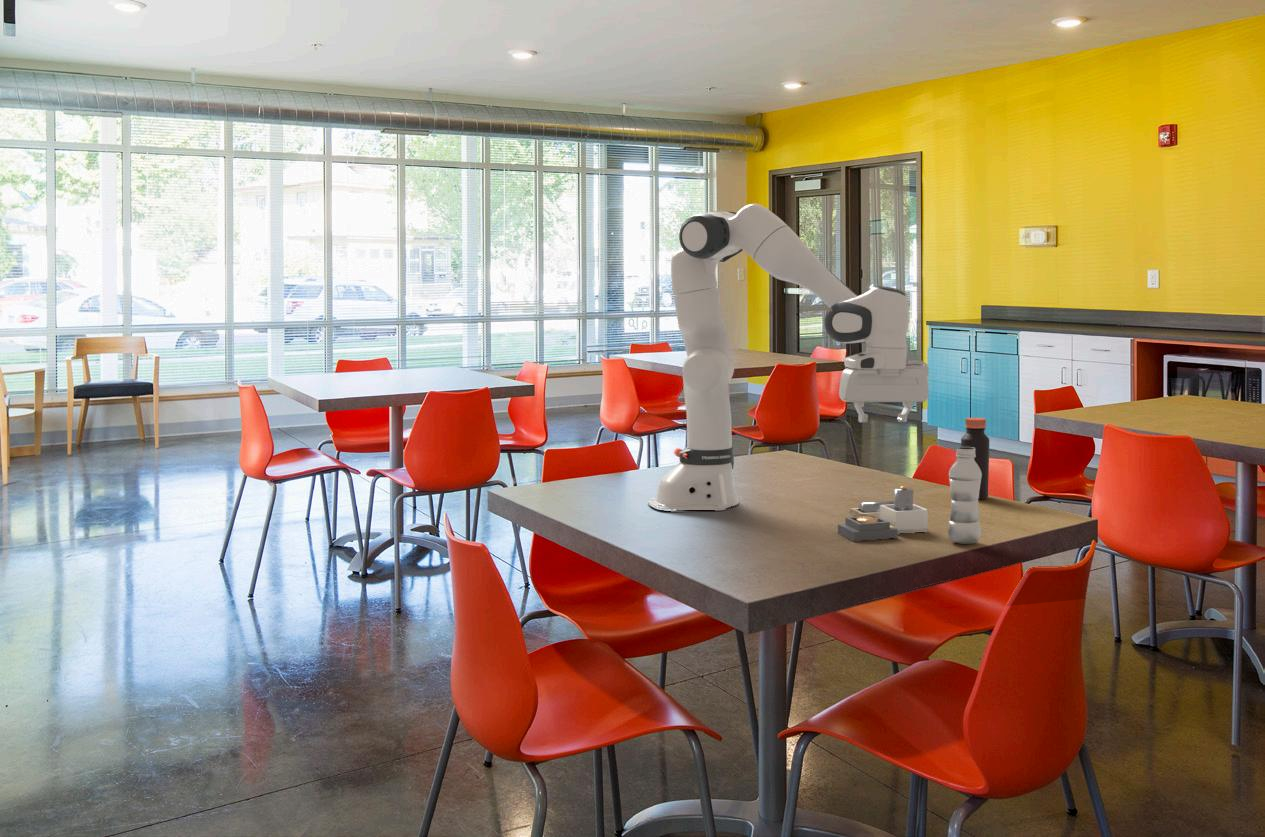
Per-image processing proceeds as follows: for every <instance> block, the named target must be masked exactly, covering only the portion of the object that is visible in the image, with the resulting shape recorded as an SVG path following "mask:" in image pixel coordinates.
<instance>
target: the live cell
mask: <svg viewBox="0 0 1265 837" xmlns="http://www.w3.org/2000/svg"><path fill="white" fill-rule="evenodd" d="M888 504H894V500H885V501H884V500H883V501H882V500H881V501H872V502H871V501H870V502H861V503H859V505H858V507H857V508H858V511H861V512H863V513H871V512H880V505H888Z"/></svg>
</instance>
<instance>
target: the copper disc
mask: <svg viewBox="0 0 1265 837" xmlns="http://www.w3.org/2000/svg"><path fill="white" fill-rule="evenodd" d="M856 521H857V522H859V523H874V522H878V518H875V517H858V518H857V519H856Z"/></svg>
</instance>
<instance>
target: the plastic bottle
mask: <svg viewBox="0 0 1265 837" xmlns="http://www.w3.org/2000/svg"><path fill="white" fill-rule="evenodd" d="M955 457H956V460H955V461H954V462H953V464H952V466H950V468H949V471H948V481H949V487H950V498H951V500H950V501H951V502H950V503H951V504H950V515H949V521H948V525H947V527H948V528H947V535H948V538H949V540H950V541H951V542H952V543H955V544H960V545H969V544H976V543H978V542H979V540H980V539H981V535H982V527H981V522H980V514H979V512H980V510H979V500H978V499H979V490H980V484H981V477H982V473H981V470H980V468H979V466H978V465H977V463H976V462H975V460H974V458H975V457H976V455H975V448H973V447H961V446H958V447H956V454H955Z"/></svg>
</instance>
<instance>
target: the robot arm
mask: <svg viewBox="0 0 1265 837" xmlns="http://www.w3.org/2000/svg"><path fill="white" fill-rule="evenodd" d="M678 234H679V236H678V237H679V239H678V240H679V243H680V246H681V247H680V249H678V250H677V251H675V252H674V253H673V255H672V257H671V262H670V266H671V267H670V276H671V279H670V280H671V288H672V294H673V300H674V302H673V303H674V308H675V313H676V318H677V325H678V328H679V331H680V334H681V337H682V340H683V344H684V347H685V351H686V356H687V357H686V359H685V360H684V362H683V364H682V365H683V366H682V381H683V382H682V384H683V396H684V404H685V414H686V442H687V443H686V447H684V448H683V449H681V448H679V447H676V448H675V449H674V450H673V454H674V456H676V457H678V458H679V463H678V464H677V465H675V466H674V467H673V468H672V469H671V470H670V471H668V472H667V473H665V474H664V475H663V476H662V477H661V478H660V479H659V481H658V484H657V488H656V496H655V497H650V498H649V499H655V500H649V499H647V503H648V502H649V503H650V504H651V505H653V506H655V507H658V508H662V509H671V510H673V509H676V510H715V511H726V510H727V509H728V508H731V506H732V507H734V506H737V505H738V504H739V499H738V496H737V492H736V488H735V482H734V481H735V480H734V473H733V472H734V471H733V469H734V466H735V453H734V447H733V445H732V443H733V442H732V441H733V440H732V431H733V430H732V428H733V427H732V411H731V403H730V402H731V401H730V389H729V388H730V387H729V386H730V384H729V383H730V381H731V379H732V378H733V375H734V372H735V364H734V360H733V354H732V349H731V344H730V341H729V336H728V332H727V329H726V324H725V322H724V317H723V310H722V304H721V298H720V292H719V288H718V282H717V276H716V268H717V265H718V263H719V262H722V263H725V262H727V261H728V260H729V259H731V258H733V257H735V256H736V255H738V254H740V253H741V252H743V251H744V252H745V253H746V254H747V255H748V256H749V257H750V258H751V260H753V261H754V262H755V263H756V264H757V265H758V266H759V267H760V268H761V269H762V270H763V271H765V272H766V273H767V274H769V275H771V276H772V277H773V278H775V279H777V280H778V281H779V280H780V281H784V282H787V283H792V284H795V285H798V286H801V287H803V288H805V289H807V290H809V291H810V292H812V293H813V294H814V295H815V297H817V298H819V299H820V301H821V302H823V303H824V304H825V305H826V306H827V307H828V308H829V309H828V310H827V311H826V313H825V317H824V329H825V331H826V334H827V335H828V336H829V337H830V338H831V339H832V340H834V342H838V343H841V344H857V343H859V344H866V345H865V351H862V352H859V353H855V354H853V355H849V356H846V357H845V358H844V360H843V362H844V366H845V367H846V368H845V369H843V371H842V373H841V375H840V381H839V390H838V396H839V398H840V399H841V400H840V401H842V402H846V403H853V406H854V408H855V410H856V413H857V414H858V416H857V417H858V418H857V421H858V422H859V423H868V422H869V421H868V420H869V419H868V418H869V414H867V413H865V412H864V409H863V408H864V407H865V403H902V407H903V409H902V411H901V412H900V413H897V418H896V419H897V422H899V423H907V422H908V415H909V414H910V412H911V410H912V409H913V406H914V405H913V404H914V403H925V402H926V401H927V400H928V398H929V395H930V394H929V393H930V392H929V379H928V377H929V365H928V364H927V363H926V362H924V361H923V360H921V359H920V360H919V359H918V360H910V359H909V360H907V357H908V344H907V332H908V330H909V316H910V314H909V300H908V295H907V294H906V293H905V292H904V291H903V290H901V289H898V288H895V287H891V286H884V285H875V286H872V288H870V289H868V290H867V291H865V292H864V293H862V294H859V295H858V294H856V293H855V292H854V291H853V290H852V289H851V288H850V287H848V286H847V285H846V284H845V283H844V282H843V281H842V280H841V279H839V278H838V276H837V275H835V274H834V273H833V272H832V271H831V270H829V269H828V267H827V266H826V265H824V264H823V263H822V262H821V260H820V259H819V258H818V257H817V256H816V255H815V254H814V253H813V252H812V250H811V249H810V248H809V247H808V246H807V245H806V244H805V242H804V241H803V240H802V239H801V238H800V236H798V235H797V234H796V232H795V231H794V230H793V229H792V228H791V226H789V225H788V224H787V223H785V221H783V220H782V219H781V218H780V217H779V216H778V215H776V214H775V213H774V212H772V211H771V210H769V209H768V208H766V207H764V206H763V205H761V204H759V203H750V204H747V205H745V206H743V207H741V208H740V209H739V210H738V211H737V212H734V211H721V210H714V211H713V210H712V211H710V212H701V213H696V214H693V215H691V216H689V217H688V218H687V219H686V220H685V221H683V223H682V225H681V226H680V229H679V232H678ZM659 506H661V507H659ZM726 508H727V509H726Z"/></svg>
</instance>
